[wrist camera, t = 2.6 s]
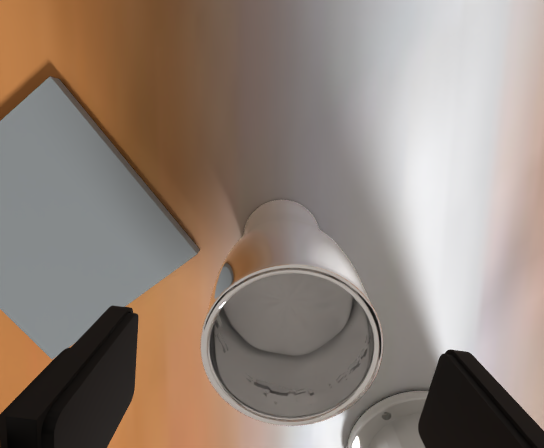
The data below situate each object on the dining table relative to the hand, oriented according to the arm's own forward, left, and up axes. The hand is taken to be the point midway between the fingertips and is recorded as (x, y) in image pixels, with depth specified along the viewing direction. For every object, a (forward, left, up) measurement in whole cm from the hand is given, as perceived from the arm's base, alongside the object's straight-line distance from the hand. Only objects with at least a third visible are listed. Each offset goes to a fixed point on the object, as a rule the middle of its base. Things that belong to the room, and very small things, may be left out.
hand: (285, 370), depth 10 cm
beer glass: (-1, 0, -17) cm, 17 cm away
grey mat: (+10, +14, -17) cm, 24 cm away
